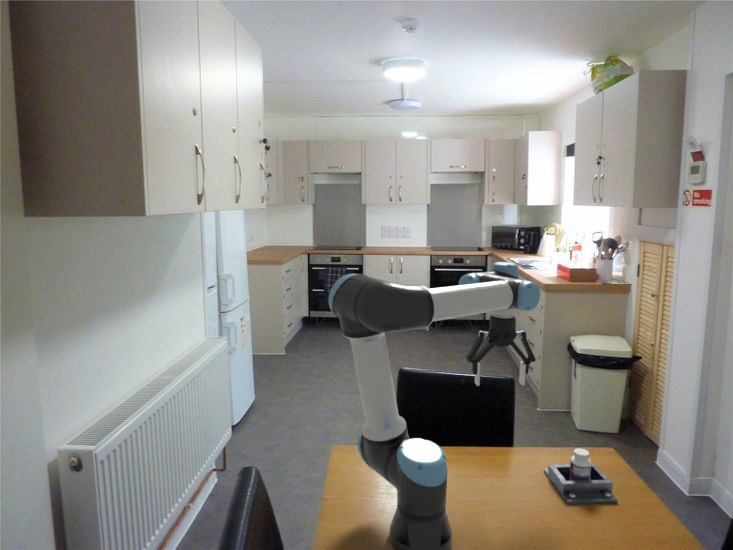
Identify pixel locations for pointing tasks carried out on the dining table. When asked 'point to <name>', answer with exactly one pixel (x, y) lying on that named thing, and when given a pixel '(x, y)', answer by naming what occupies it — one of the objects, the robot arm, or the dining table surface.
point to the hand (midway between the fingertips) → (499, 384)
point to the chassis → (581, 485)
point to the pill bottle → (580, 465)
